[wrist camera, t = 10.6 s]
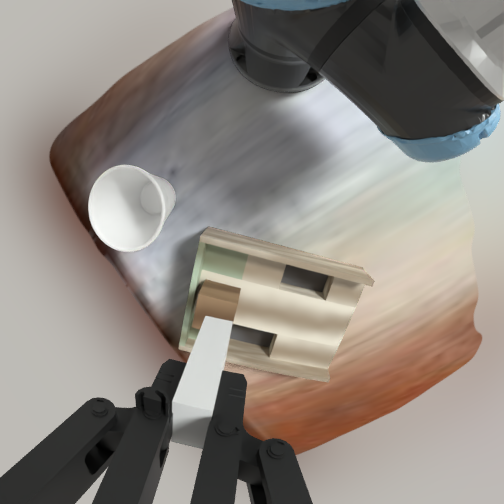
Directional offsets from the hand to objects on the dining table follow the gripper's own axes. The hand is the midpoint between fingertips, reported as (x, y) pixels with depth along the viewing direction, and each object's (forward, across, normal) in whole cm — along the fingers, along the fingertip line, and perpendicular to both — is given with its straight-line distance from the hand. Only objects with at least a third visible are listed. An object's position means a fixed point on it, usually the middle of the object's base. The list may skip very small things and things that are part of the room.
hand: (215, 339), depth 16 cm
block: (+24, -2, -10) cm, 26 cm away
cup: (+28, -14, +2) cm, 31 cm away
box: (+27, +5, -11) cm, 30 cm away
